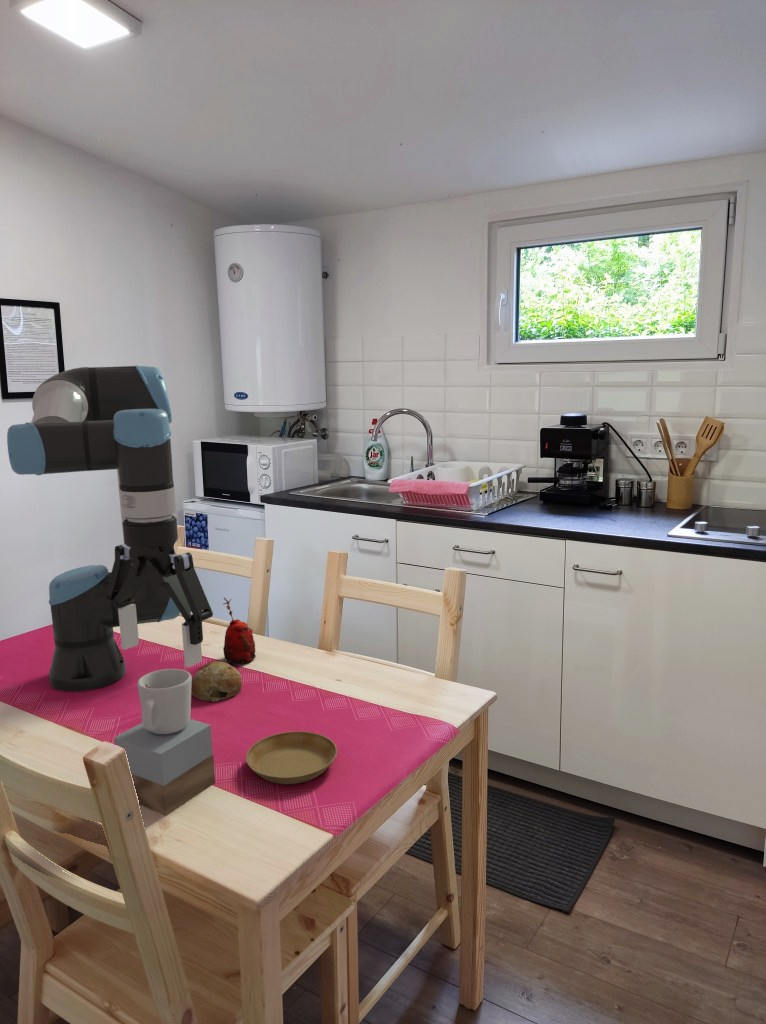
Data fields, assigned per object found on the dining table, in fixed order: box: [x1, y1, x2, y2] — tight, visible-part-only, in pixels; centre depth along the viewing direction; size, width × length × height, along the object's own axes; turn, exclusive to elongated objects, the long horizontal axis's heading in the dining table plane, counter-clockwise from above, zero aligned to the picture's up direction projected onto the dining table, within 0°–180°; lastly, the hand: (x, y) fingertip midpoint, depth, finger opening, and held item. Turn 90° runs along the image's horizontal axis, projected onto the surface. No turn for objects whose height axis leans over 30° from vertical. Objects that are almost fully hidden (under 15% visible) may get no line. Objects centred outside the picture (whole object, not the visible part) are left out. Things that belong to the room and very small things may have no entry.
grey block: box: [113, 718, 214, 786], centre depth 114 cm, size 10×10×5 cm
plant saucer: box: [245, 730, 338, 785], centre depth 121 cm, size 15×15×3 cm
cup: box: [136, 668, 193, 735], centre depth 112 cm, size 11×8×8 cm
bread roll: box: [191, 660, 243, 703], centre depth 149 cm, size 10×10×8 cm
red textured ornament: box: [222, 597, 256, 664], centre depth 164 cm, size 8×7×15 cm
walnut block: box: [131, 754, 216, 817], centre depth 115 cm, size 10×10×5 cm
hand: (161, 655), depth 112 cm, fingers open, 13 cm apart
